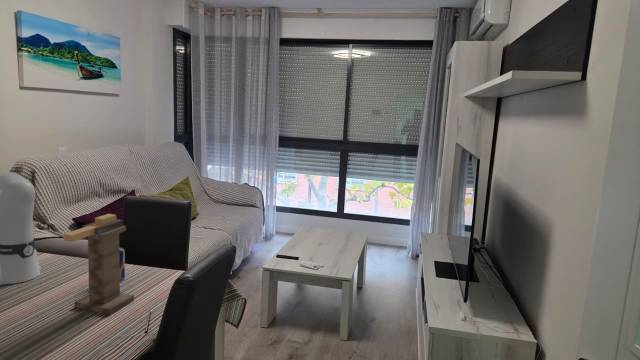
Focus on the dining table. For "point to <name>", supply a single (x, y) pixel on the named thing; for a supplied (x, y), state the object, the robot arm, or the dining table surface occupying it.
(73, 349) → the dining table surface
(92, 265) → the holder stand
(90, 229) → the wooden stick
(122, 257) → the energy drink
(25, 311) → the dining table surface
